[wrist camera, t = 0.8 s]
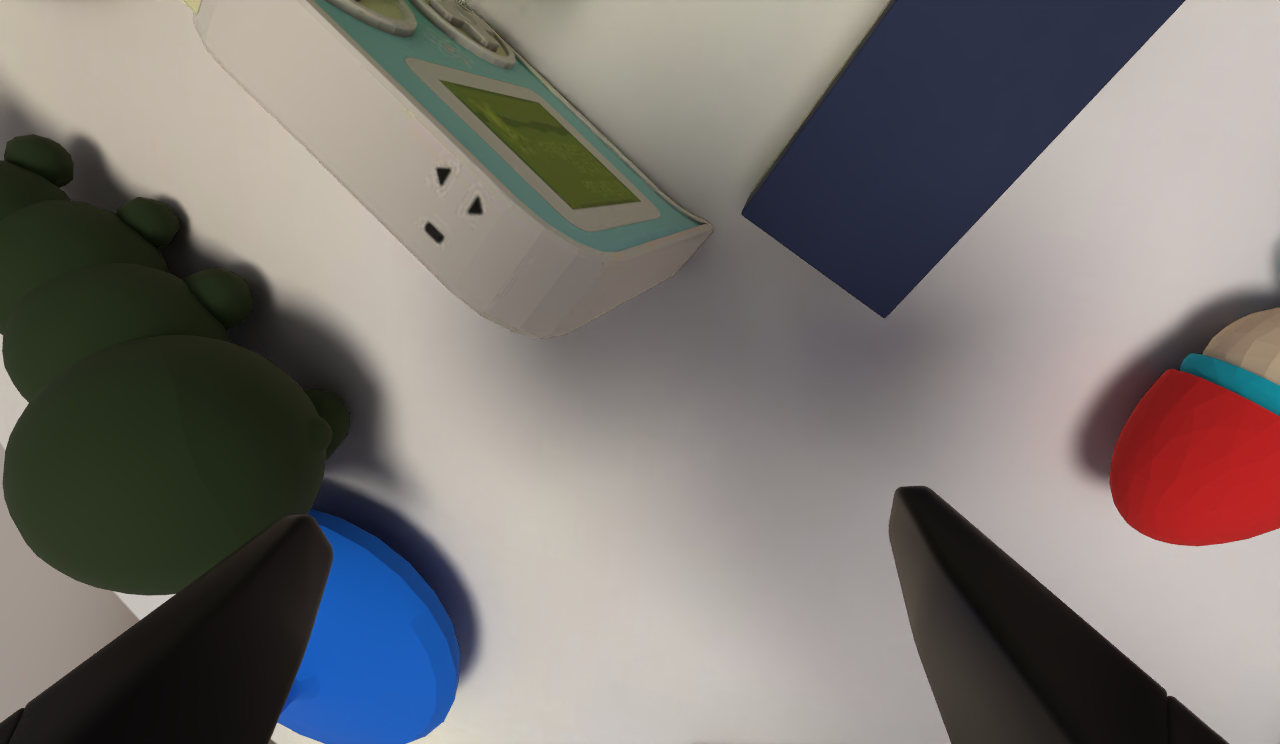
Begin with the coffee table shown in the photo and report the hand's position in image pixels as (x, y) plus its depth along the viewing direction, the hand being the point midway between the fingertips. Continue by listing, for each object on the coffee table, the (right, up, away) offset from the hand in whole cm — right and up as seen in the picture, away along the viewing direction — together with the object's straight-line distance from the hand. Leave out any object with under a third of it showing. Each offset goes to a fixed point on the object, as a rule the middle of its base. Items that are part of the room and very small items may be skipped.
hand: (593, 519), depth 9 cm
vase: (-15, -10, +25) cm, 31 cm away
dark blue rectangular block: (+10, +11, +9) cm, 17 cm away
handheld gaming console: (-3, +12, +12) cm, 17 cm away
